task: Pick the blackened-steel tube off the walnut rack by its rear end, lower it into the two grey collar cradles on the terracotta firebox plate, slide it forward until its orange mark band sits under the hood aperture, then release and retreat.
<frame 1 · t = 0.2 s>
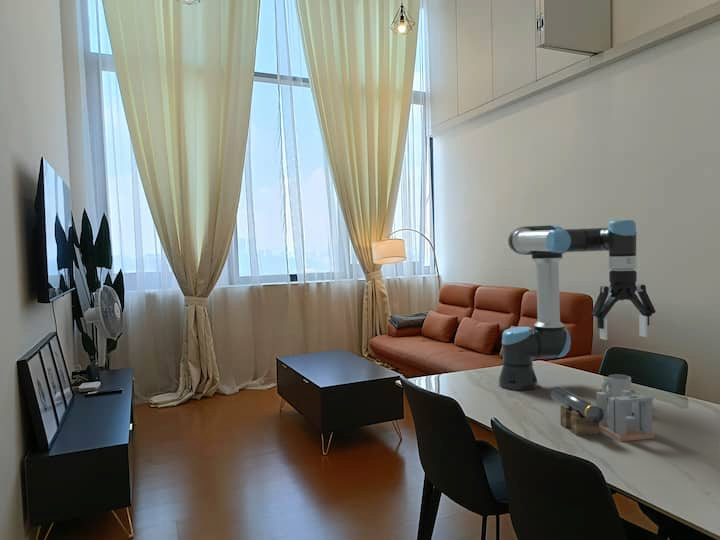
hand: (623, 337, 156), 27 cm above the table, fingers open, 13 cm apart
ornament: (630, 413, 167), on the table
cup: (615, 402, 180), on the table
rack: (575, 426, 157), on the table
tube: (575, 410, 157), point 5 cm above the table, touching rack
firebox: (616, 428, 154), on the table
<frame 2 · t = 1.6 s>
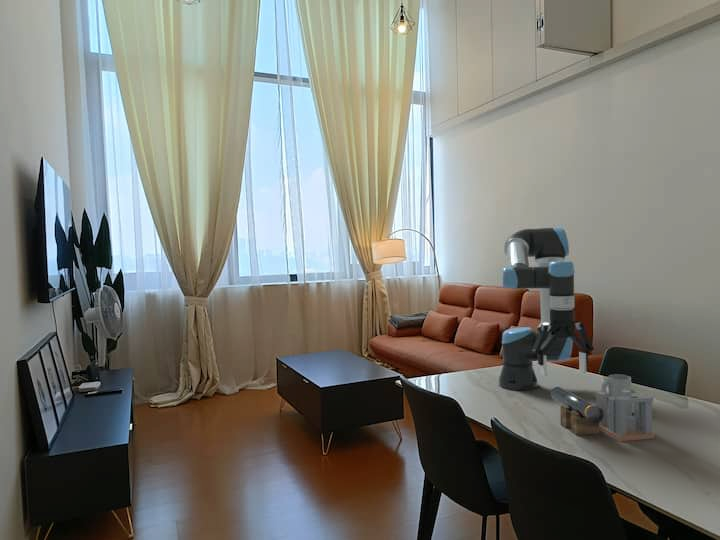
hand: (563, 373, 163), 15 cm above the table, fingers open, 13 cm apart
nothing on the table moved.
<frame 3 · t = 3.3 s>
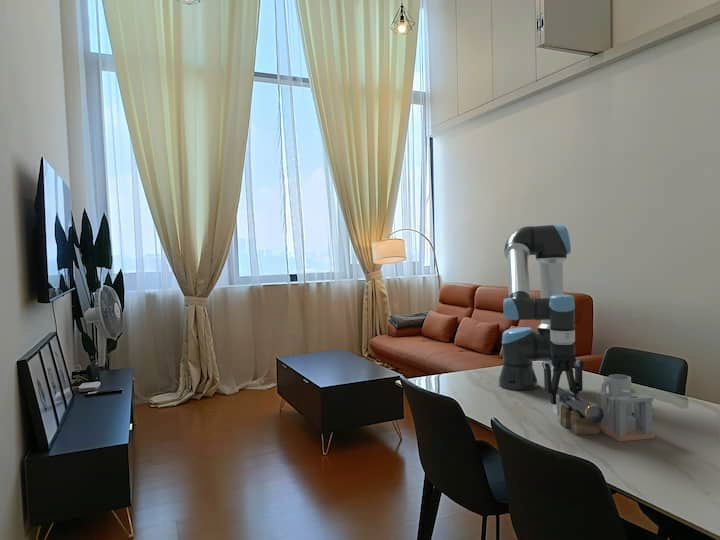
hand: (563, 413, 164), 2 cm above the table, fingers closed on tube, 4 cm apart
tube: (575, 410, 157), point 5 cm above the table, touching gripper, rack
everything else where it was.
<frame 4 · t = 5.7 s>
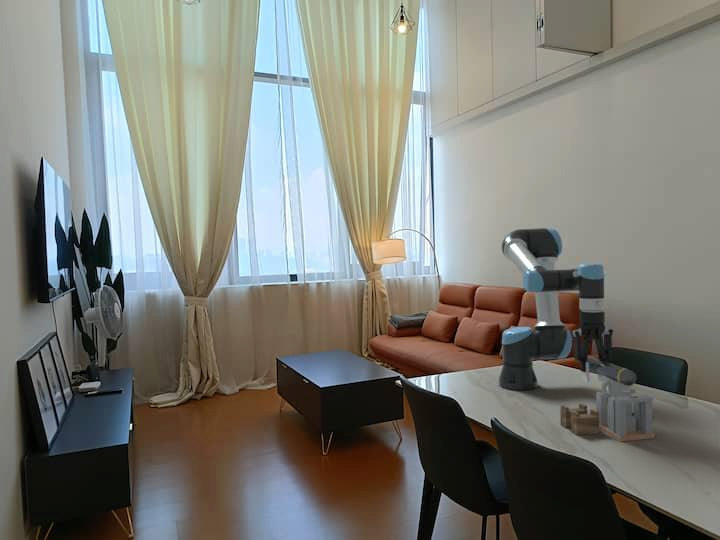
hand: (593, 380, 165), 12 cm above the table, fingers closed on tube, 4 cm apart
tube: (606, 376, 158), point 15 cm above the table, touching gripper
everything else where it was.
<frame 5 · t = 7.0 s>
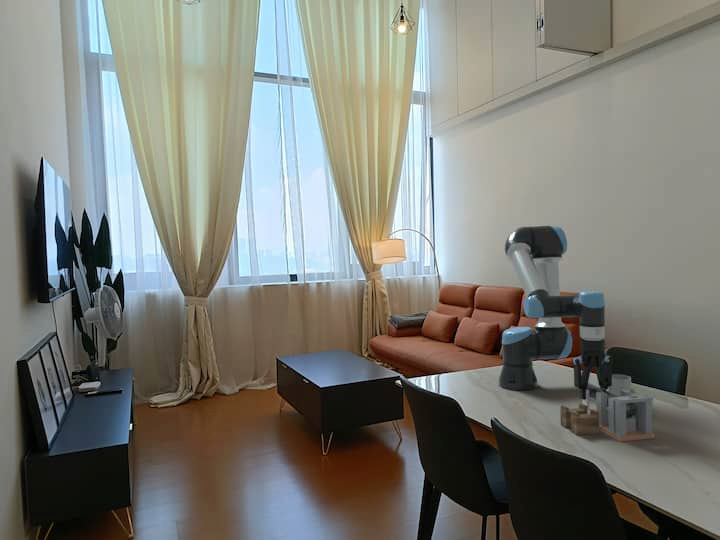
hand: (593, 408, 166), 3 cm above the table, fingers closed on tube, 4 cm apart
tube: (606, 405, 159), point 6 cm above the table, touching gripper
everything else where it was.
when the fingers open (2 cm above the table, at t = 8.2 s): tube stays where it is, resting on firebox.
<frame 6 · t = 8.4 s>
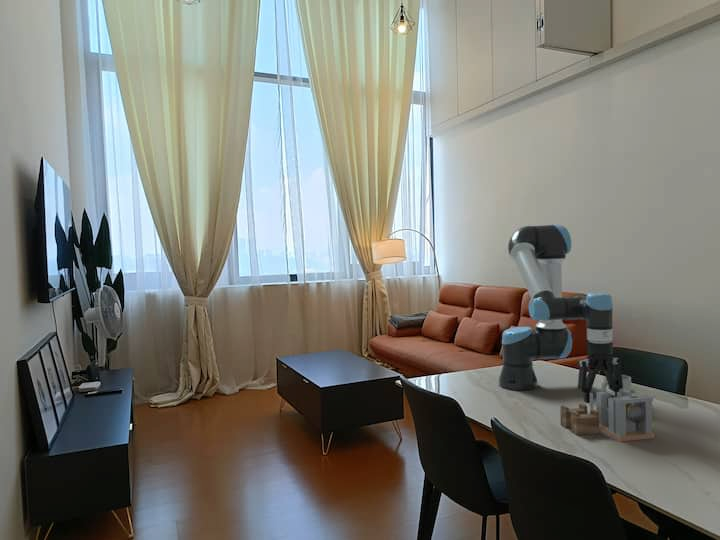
hand: (600, 411, 162), 3 cm above the table, fingers open, 7 cm apart
tube: (614, 411, 155), point 5 cm above the table, touching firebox
everything else where it was.
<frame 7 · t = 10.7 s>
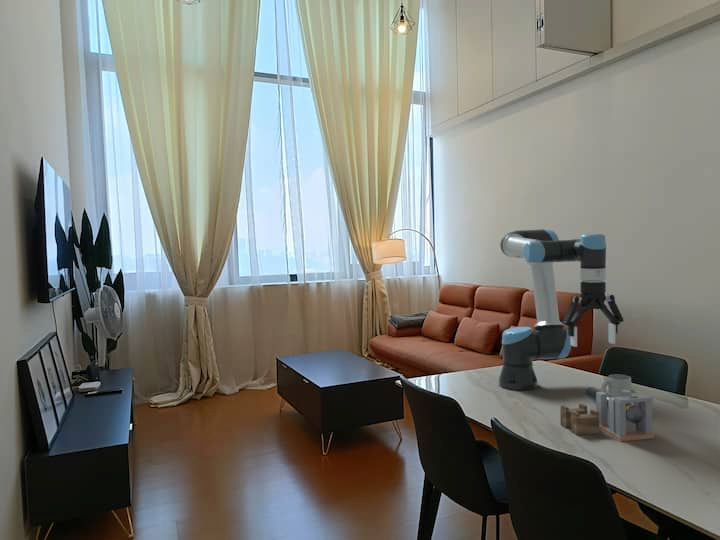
hand: (592, 344, 166), 24 cm above the table, fingers open, 13 cm apart
tube: (614, 410, 155), point 5 cm above the table, tilted 13°, touching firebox
everything else where it was.
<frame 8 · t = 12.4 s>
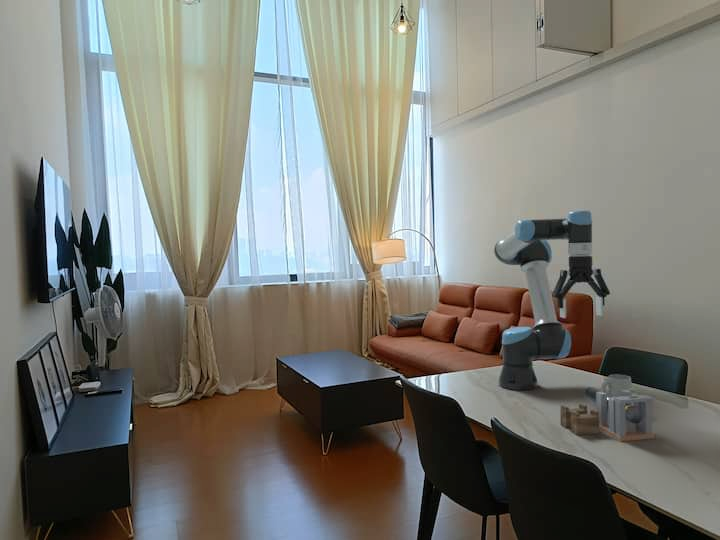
hand: (581, 316, 174), 32 cm above the table, fingers open, 13 cm apart
tube: (614, 410, 155), point 5 cm above the table, tilted 19°, touching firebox
everything else where it was.
at the end: tube 0.0 cm from the target spot on the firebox, point 5.1 cm above the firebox's base; the gripper is holding nothing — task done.
